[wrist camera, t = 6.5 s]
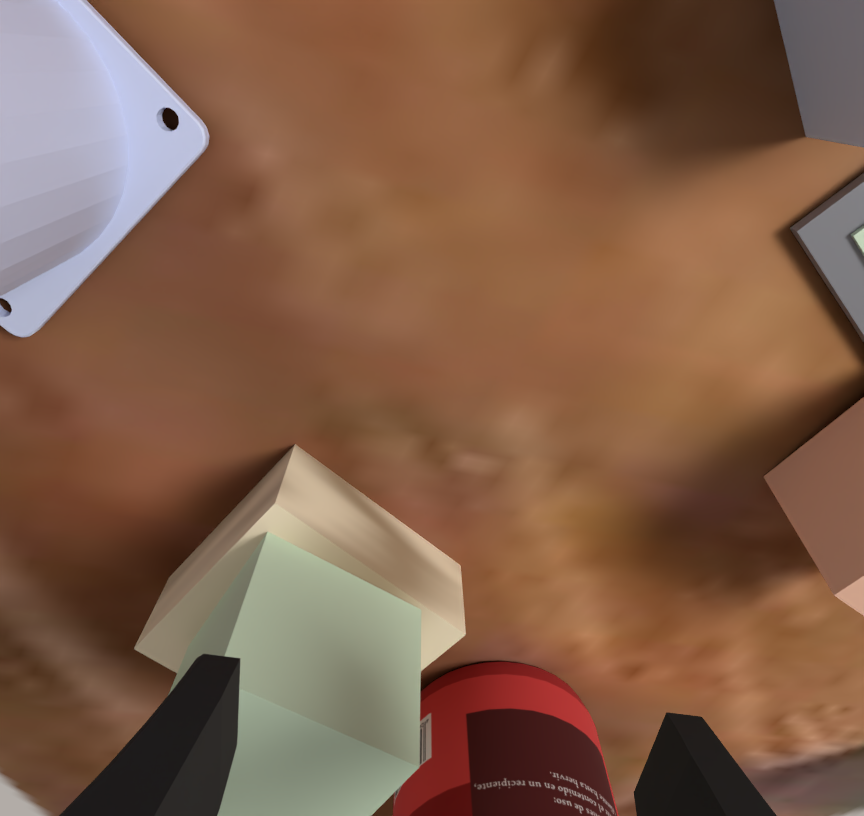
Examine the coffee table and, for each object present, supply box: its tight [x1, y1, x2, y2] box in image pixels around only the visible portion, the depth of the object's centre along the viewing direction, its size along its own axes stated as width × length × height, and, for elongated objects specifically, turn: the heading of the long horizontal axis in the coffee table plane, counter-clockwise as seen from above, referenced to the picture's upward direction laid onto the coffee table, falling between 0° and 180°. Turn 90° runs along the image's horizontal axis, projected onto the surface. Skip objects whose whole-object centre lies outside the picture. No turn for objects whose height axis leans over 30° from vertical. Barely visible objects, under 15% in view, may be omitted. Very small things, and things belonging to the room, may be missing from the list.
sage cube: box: [168, 532, 421, 816], centre depth 18 cm, size 5×5×5 cm
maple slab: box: [134, 444, 466, 673], centre depth 22 cm, size 7×7×4 cm
